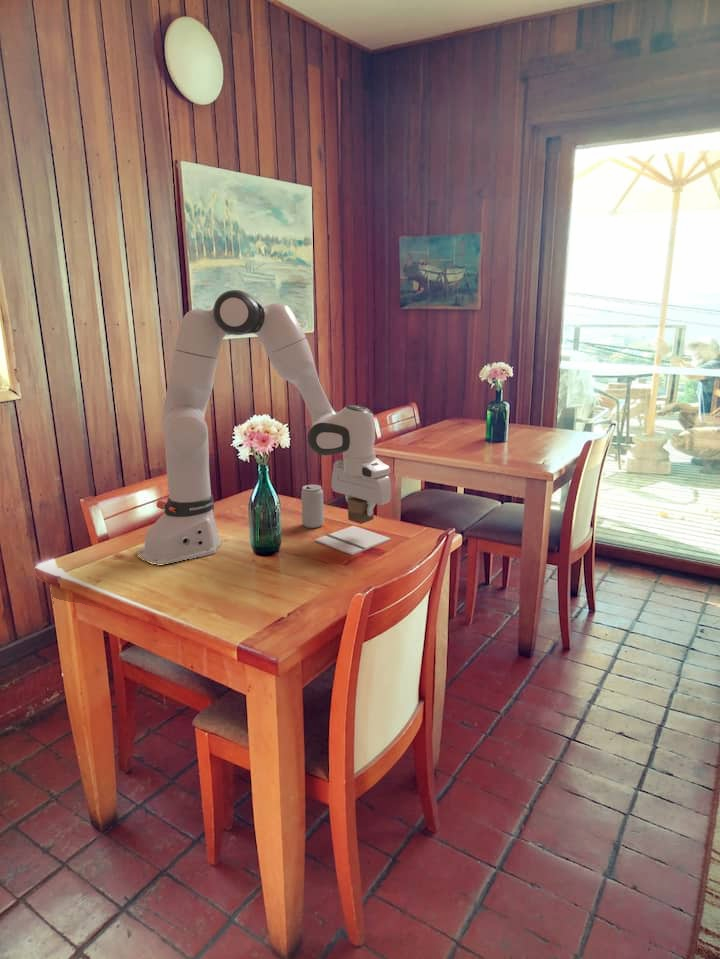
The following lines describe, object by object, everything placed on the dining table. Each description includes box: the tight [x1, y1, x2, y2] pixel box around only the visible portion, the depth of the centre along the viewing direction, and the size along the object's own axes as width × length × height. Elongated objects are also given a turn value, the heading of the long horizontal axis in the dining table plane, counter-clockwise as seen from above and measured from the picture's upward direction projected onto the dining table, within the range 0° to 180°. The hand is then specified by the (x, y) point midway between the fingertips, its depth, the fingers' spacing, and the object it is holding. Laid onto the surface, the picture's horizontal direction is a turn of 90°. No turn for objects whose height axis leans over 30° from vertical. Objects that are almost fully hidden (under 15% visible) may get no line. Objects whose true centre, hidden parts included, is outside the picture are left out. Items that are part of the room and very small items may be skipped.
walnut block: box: [347, 497, 375, 525], centre depth 183 cm, size 5×5×6 cm
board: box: [314, 525, 392, 556], centre depth 184 cm, size 15×15×1 cm
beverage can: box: [300, 484, 325, 529], centre depth 195 cm, size 6×6×12 cm
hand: (360, 512), depth 183 cm, fingers closed on walnut block, 5 cm apart
